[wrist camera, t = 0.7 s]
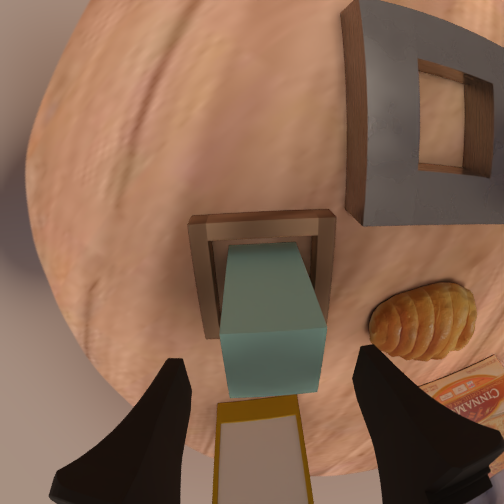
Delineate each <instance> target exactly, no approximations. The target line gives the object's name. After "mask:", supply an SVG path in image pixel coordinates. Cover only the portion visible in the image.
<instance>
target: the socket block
mask: <svg viewBox="0 0 504 504" xmlns="http://www.w3.org/2000/svg"><path fill="white" fill-rule="evenodd" d="M340 14H341V23H342V33H343V45H344V58H345V74H346V97H347V176H346V200H345V209H346V210H347V211H348V212H349V213H350V214H351V215H352V216H353V217H354V218H355V219H356V220H357V221H358V222H359V223H360V224H361V225H362V226H363V227H365V226H400V225H450V224H504V48H503V47H501V46H499V45H497V44H495V43H494V42H492V41H490V40H488V39H486V38H484V37H482V36H480V35H478V34H475V33H473V32H471V31H469V30H467V29H465V28H462V27H460V26H458V25H455V24H453V23H450V22H448V21H445V20H443V19H440V18H437V17H434V16H432V15H429V14H426V13H423V12H420V11H417V10H413V9H410V8H407V7H403V6H400V5H396V4H392V3H388V2H384V1H380V0H353V1H352V2H351V3H350V4H349V5H348V6H347V7H346V8H345V9H344V10H343V11H342V12H341V13H340ZM418 71H421V72H425V73H429V74H433V75H437V76H440V77H444V78H447V79H451V80H454V81H457V82H460V83H464V87H465V143H464V159H463V168H461V167H453V166H444V165H435V164H424V163H418V161H419V140H420V93H419V72H418Z"/></svg>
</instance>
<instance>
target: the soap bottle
mask: <svg viewBox="0 0 504 504" xmlns="http://www.w3.org/2000/svg"><path fill="white" fill-rule="evenodd" d="M212 504H314V501H313V495H312V488H311V481H310V474H309V468H308V461H307V455H306V448H305V442H304V436H303V429H302V423H301V417H300V411H299V405H298V399H297V394H292V395H284V396H278V397H271V398H263V399H255V400H247V401H237V402H227V403H218V407H217V422H216V438H215V456H214V476H213V497H212Z"/></svg>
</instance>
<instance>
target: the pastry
mask: <svg viewBox="0 0 504 504" xmlns="http://www.w3.org/2000/svg"><path fill="white" fill-rule="evenodd" d="M476 317H477V311H476V305H475V301H474V297H473V294H472V292H471V291H470V290H468V289H466V288H464V287H462V286H460V285H458V284H455V283H443V282H439V283H435V284H431V285H428V286H423V287H419V288H417V289H414V290H410V291H407V292H404V293H401V294H398V295H395V296H393V297H391V298H390V299H389V300H387V301H385V302H383V303H381V304H380V305H379V306H378V307H377V308H376V310H375V311H374V312H373V314H372V317H371V320H370V323H369V331H370V341H371V343H372V344H374V345H375V346H376V347H377V348H378V349H379V350H381V351H384V352H386V353H388V354H389V355H390V356H392V357H395V356H400V357H402V358H404V359H405V360H411V359H414V360H420V361H428V360H430V359H435V360H438V359H443V358H444V357H445V356H446V355H447V354H448V353H449V351H455V350H456V351H459V350H460V349H462V348H463V347H465V345H466V344H468V342H469V340H470V339H471V337H472V335H473V333H474V330H475V321H476Z"/></svg>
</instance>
